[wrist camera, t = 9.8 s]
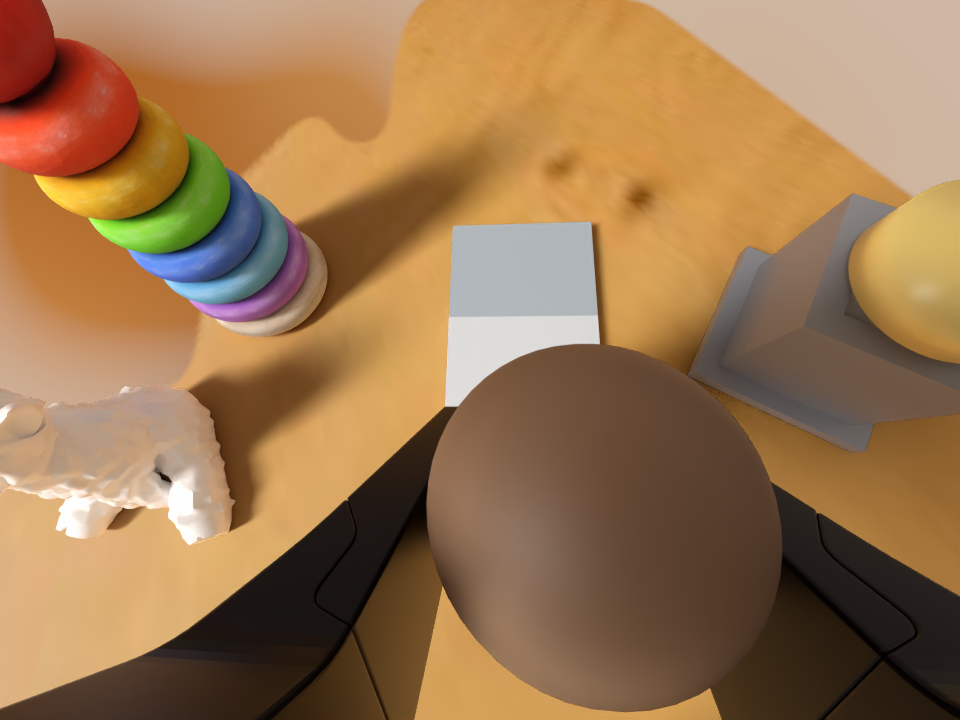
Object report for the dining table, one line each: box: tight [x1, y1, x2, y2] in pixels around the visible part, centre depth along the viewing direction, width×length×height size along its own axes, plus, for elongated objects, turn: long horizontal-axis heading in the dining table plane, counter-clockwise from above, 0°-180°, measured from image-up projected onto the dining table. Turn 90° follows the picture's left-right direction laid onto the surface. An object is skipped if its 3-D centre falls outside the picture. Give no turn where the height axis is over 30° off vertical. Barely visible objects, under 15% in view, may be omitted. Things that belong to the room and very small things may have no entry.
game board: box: [445, 222, 600, 407], centre depth 22 cm, size 20×9×1 cm, turn 179°
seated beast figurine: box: [0, 384, 235, 545], centre depth 17 cm, size 10×9×12 cm
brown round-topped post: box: [426, 344, 782, 712], centre depth 8 cm, size 5×5×12 cm
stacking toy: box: [0, 0, 328, 337], centre depth 16 cm, size 8×8×19 cm
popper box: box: [687, 193, 960, 452], centre depth 18 cm, size 9×9×7 cm
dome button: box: [844, 180, 960, 364], centre depth 16 cm, size 6×6×7 cm
